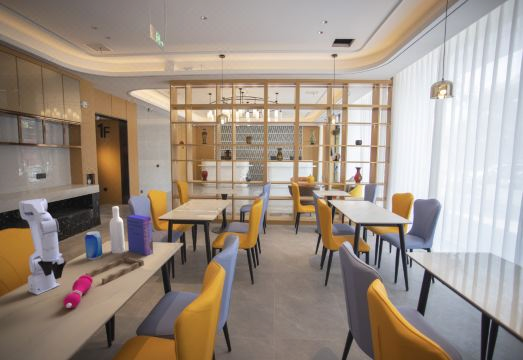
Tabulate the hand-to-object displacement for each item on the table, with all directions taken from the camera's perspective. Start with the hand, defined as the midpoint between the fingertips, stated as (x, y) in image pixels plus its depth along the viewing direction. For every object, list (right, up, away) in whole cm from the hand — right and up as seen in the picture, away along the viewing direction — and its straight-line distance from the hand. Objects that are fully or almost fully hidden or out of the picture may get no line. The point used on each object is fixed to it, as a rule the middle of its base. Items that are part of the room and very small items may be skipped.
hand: (53, 276), depth 113 cm
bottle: (-2, -4, +55) cm, 55 cm away
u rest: (+12, -7, +27) cm, 30 cm away
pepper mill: (+8, -6, +10) cm, 14 cm away
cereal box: (+13, -5, +54) cm, 55 cm away
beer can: (-11, -6, +45) cm, 47 cm away
